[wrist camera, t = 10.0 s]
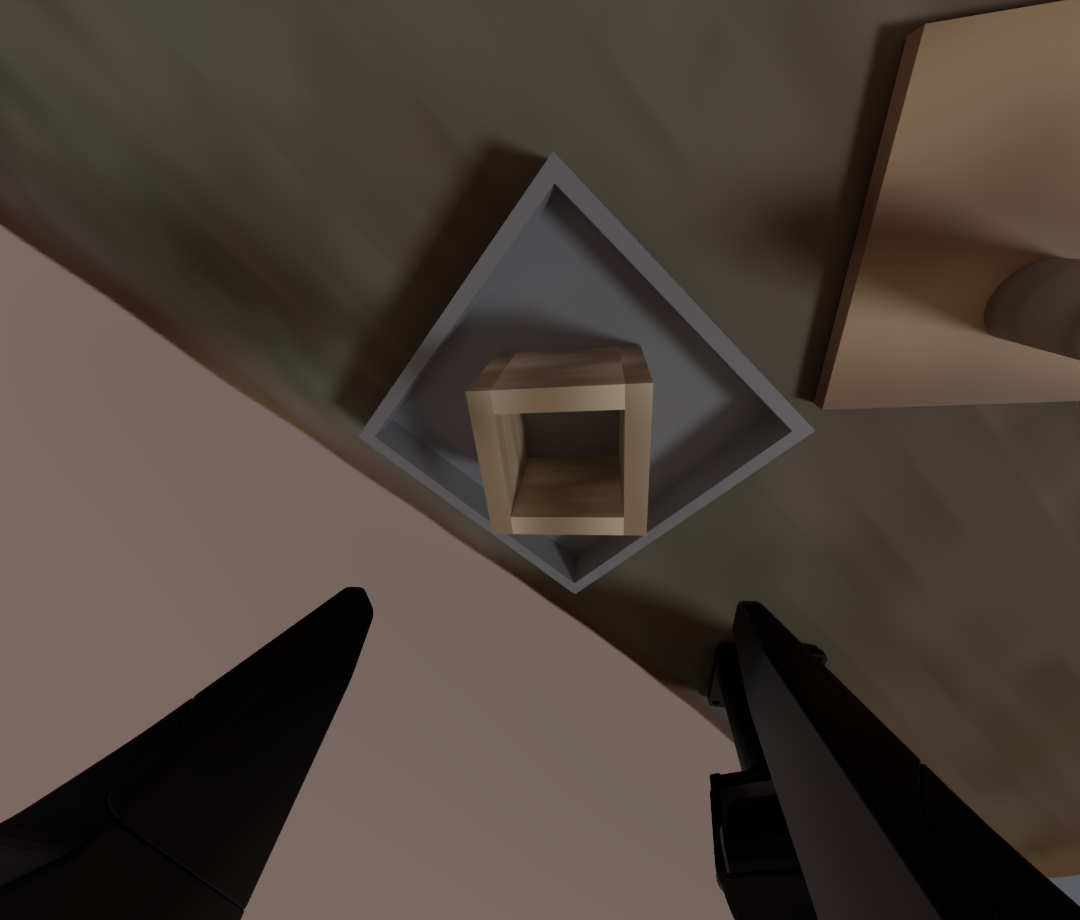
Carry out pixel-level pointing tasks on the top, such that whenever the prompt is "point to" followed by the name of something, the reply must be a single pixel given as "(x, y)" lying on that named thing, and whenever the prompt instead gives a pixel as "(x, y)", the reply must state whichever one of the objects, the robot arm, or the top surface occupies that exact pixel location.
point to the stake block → (969, 223)
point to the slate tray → (574, 323)
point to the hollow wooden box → (563, 482)
